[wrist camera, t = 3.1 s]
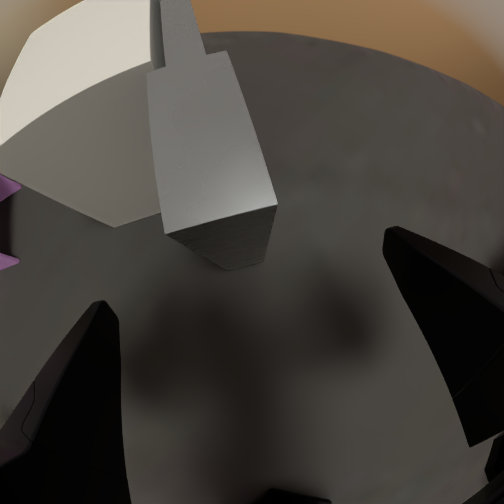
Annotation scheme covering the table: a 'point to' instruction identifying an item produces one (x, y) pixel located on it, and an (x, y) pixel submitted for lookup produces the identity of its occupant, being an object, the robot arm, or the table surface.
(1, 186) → the toy chair
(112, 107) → the white box
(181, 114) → the silver metal panel
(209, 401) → the table surface
